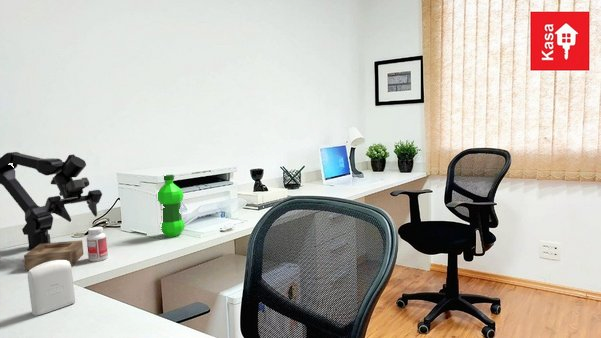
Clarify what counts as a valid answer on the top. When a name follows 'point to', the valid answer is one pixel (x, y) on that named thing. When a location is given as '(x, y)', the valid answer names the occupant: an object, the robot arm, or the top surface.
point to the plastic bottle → (171, 207)
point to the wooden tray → (54, 253)
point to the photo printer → (51, 286)
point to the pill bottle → (96, 244)
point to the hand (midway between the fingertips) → (83, 218)
